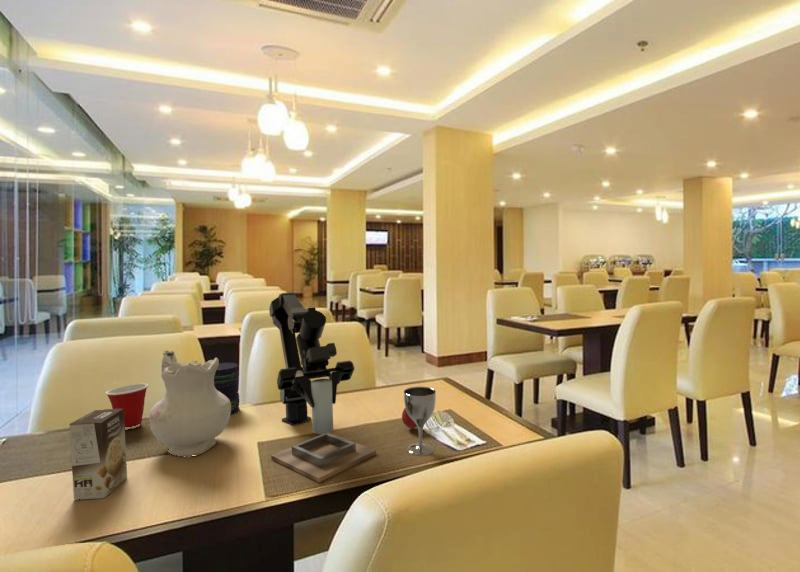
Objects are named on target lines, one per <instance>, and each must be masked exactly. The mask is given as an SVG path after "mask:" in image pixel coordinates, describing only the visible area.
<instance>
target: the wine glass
mask: <svg viewBox="0 0 800 572" xmlns="http://www.w3.org/2000/svg"><path fill="white" fill-rule="evenodd" d="M436 395H437V394H436V390H435V389H434V388H432V387H429V386H428V387H427V386H410V387H407V388H405V389H404V390H403V401H404V409H405V408H406V411H407V414H408V415H409V417H410V418H411V419H412V420H413V421H414V422H415V424H416V425H417V427H416V428H417V432H418V433H417V434H418V443H412V444H410V445H407V447H406V452H407V453H408V454H410V455H413V456H418V457H419V456H420V457H421V456H423V457H424V456H427V455H431V454H433V453H434V452H435V450H436V449H435V447H434V446H433V445H431V444H429V443H423V431H424V430H423V429H424V426H425V424H426V423H427V422H428V420H430V419H431V417H432V416H433V414H434V411H435V408H436V399H437V398H436Z"/></svg>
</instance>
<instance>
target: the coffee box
mask: <svg viewBox="0 0 800 572" xmlns="http://www.w3.org/2000/svg"><path fill="white" fill-rule="evenodd" d="M69 441H70V453H71V471H72V472H71V473H72V475H71V476H72V487H73V488H72V490H73V500H74V499H75V500H74V501H80V500H95V499H97V500H98V499H105V498H106V497H107V496H108V495H109V494H111V493H112V492H113V491H114V490H116V488H117V487H118V486H120V485H121V484H120V483H121V482H122V483H123V482H124V481H125V480H126V479H127V478H128V469H127V468H128V467H127V465H128V464H127V450H126V445H127V444H126V433H125V427H124V409H113V408H107V409H95V410H93V411H91V412H89V413H88V414H85V415H84V416H82V417H80V418H78V419H76V420H74V421H72V422H70V423H69ZM79 499H80V500H79Z"/></svg>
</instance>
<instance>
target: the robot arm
mask: <svg viewBox="0 0 800 572" xmlns="http://www.w3.org/2000/svg"><path fill="white" fill-rule="evenodd" d="M268 310H269V316H270V318H271V319H272V324H273V325H274V326H275V327H276V328H277V329H278V330H279V334H280V341H281V346H282V353H283V360H284V365H285V366H284V367H285V368H280V370H278V374H277V379H276V385H277V390H279V391H280V392H279V399H280V402H281V403H282V404H283V405H285V417H283V418H281V421H282V422H284V423H288V424H290V425H293V426H297V425H299V424H302V423H305V422H308V421H310V420H312V416H308V415H309V414H308V405H309V406H310V407H311V409H312V408H313V407H314V402H313V398H312V393H311V382H312V380H315V379H322V378H328V379H330V380H332V398H333V405H335V404H336V401H337V392H338V391H337V390H338V385H340V382H345V381H349V380H350V379H351V378H352V376H353V373H354V371H355V365H354V363H353V362H352V361H351V360H343V361H337V362H336V365H335V367H331V368H327V367H328V366H329V364H330V362H329V360H330V359H331V358H333V357H335V356H337V352H338V351H337V347H336V344H335V342H329V343H327V344H326V345H322V346H321V343H320V339H321V338H322V336H323V332H324V329H325V326H326V323H327V317H326V315H324V313H323V312H321V311H318V310H317V309H316V307H307V308H306V307H304V306H303V304H302V303H301V301H300V300H299V298H298V295H297V293H296V292H295V293H294V292H281V293H279V295H278V297H276V298H274V299H273V300H272V301H271V302H270V305H269V309H268ZM296 334H297V336H296ZM307 404H308V405H307Z"/></svg>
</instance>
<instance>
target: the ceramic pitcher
mask: <svg viewBox="0 0 800 572" xmlns="http://www.w3.org/2000/svg"><path fill="white" fill-rule="evenodd" d="M162 355H163V356H162V359H161V374H160V376H161V379H162V380H163V382H164V387H165V389H166V390H165V394H164V396H163V397H162V398H161V399H159V400H158V401H157V402H156V403H155V405H153V406H152V408H151V409H150V411H149V417H148V418H149V421H148V422H149V428H150V430H151V432H152V434H153V436H154V437H155V438H156V440H158V441H159V442H160V443H162V444H163V445H166V446H168V447H169V448H170V449H169V448H168V449H169V453H170V454H169V453H168V454H169V455H171V454H172V455H171V456H176V455H177V457H180V456H185V457H187V458H190V457H189V456H192V455H196V457H198V456H197V455H199V454H201V455H203V454H204V453H206V452H207V451H208V450H210V449H211V448H213V447H214V446H215V445H217V440H216V437H218V436H220V435H221V434H222V433H223V431H224V430H225V429H226V427H227V425H228V424H229V422H230V418H231V415H230V414H231V402H230V400H229V399H228V398H227V397H226V396H225V395H224V394H222V393H221V392H219V391H218V390H216V388H215V386H214V375H215V372H216V370H217V368H218V365H219V363H220V362H219V361H220V360H219V358H218V357H214V359H210V360H208V361H206V362H204V363H202V362H198V360H193V361H190V362H188V363H187V362H185V363H181V362H179V361H178V358H177V357H176V355H175V351H173V350H171V351H170V350H164V351H163V353H162ZM202 453H203V454H202ZM199 456H200V455H199ZM185 457H184V458H185Z"/></svg>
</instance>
